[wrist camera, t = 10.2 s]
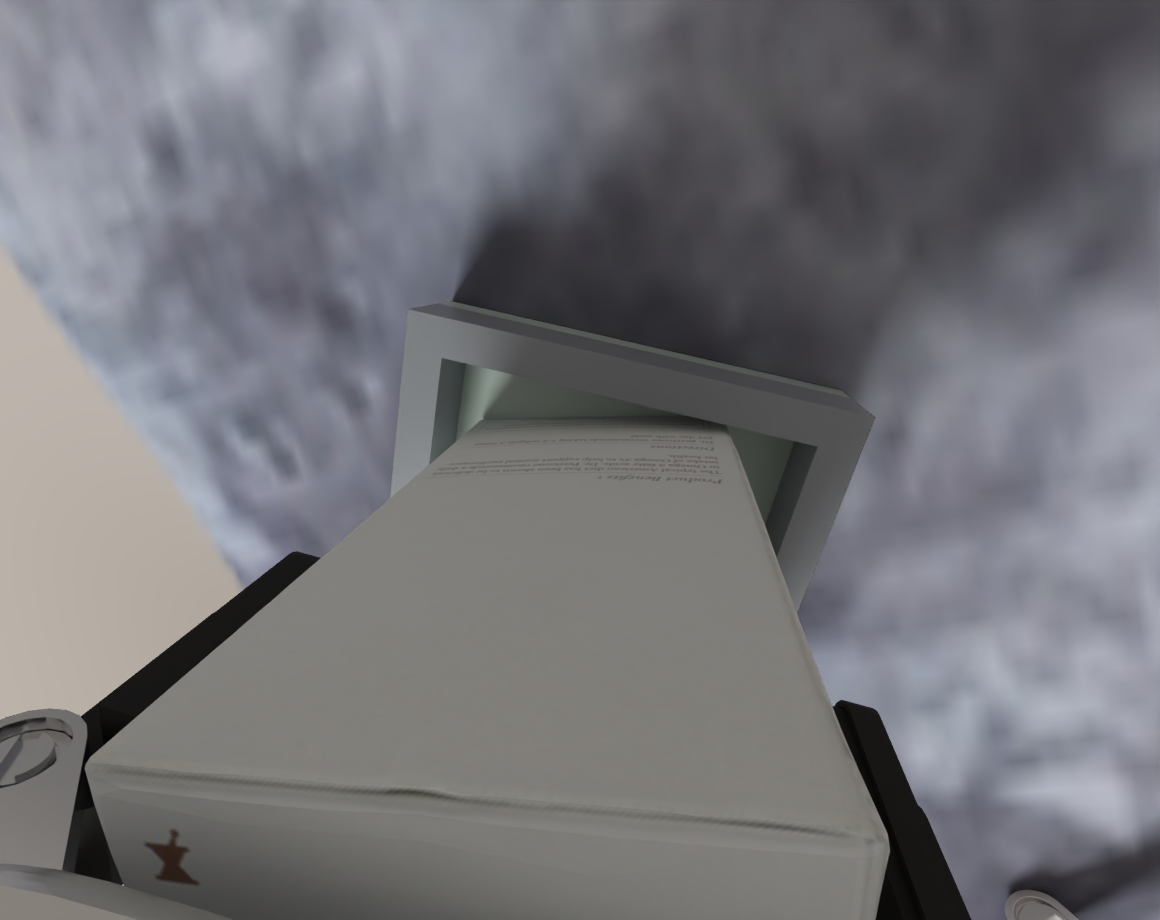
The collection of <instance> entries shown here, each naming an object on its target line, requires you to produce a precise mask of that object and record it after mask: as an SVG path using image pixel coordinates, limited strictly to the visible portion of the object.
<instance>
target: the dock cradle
mask: <svg viewBox="0 0 1160 920" xmlns="http://www.w3.org/2000/svg"><path fill="white" fill-rule="evenodd" d="M655 416H690V417H694V418H698V419H702V420H707V421H711V422H715V423H719V424H724V425H726V426H727V428H728V430H729V433H730V436H731V438H732V441H733V444H734V446H735V448H736V450H737V452H738V454H739V457H740V460H741V462H742V465H743V468H744V470H745V473H746V475H747V478H748V481H749V484H750V486H751V489H752V492H753V494H754V497H755V500H756V503H757V505H758V508H759V511H760V514H761V516H762V519H763V521H764V524H765V526H766V529H767V532H768V535H769V538H770V541H771V544H772V547H773V549H774V552H775V555H776V558H777V560H778V563H779V566H780V568H781V571H782V574H783V577H784V579H785V582H786V585H787V588H788V590H789V593H790V596H791V598H792V601H793V604H794V607H795V609H796V612H798V609H799V607H800V604H801V602H802V599H803V597H804V594H805V592H806V589H807V587H808V584H809V582H810V579H811V577H812V574H813V572H814V569H815V567H816V564H817V562H818V559H819V557H820V554H821V552H822V549H823V547H824V544H825V542H826V539H827V537H828V534H829V532H830V529H831V527H832V524H833V522H834V519H835V517H836V514H837V512H838V509H839V507H840V504H841V502H842V499H843V497H844V494H845V492H846V489H847V487H848V484H849V482H850V479H851V477H852V474H853V472H854V469H855V467H856V464H857V462H858V459H859V457H860V454H861V452H862V449H863V447H864V444H865V442H866V439H867V437H868V435H869V432H870V430H871V427H872V425H873V422H874V420H875V417H874V416H873V415H872V414H871V413H869V412H868V411H867V410H865V409H864V408H863V407H862V406H860V405H859V404H858V403H856V402H855V401H854V400H853V399H851V398H850V397H849V396H848V395H846V394H845V393H844V392H842V391H841V390H838V389H834V388H829V387H825V386H820V385H816V384H812V383H807V382H803V381H799V380H794V379H790V378H785V377H781V376H777V375H772V374H768V373H764V372H759V371H755V370H750V369H746V368H742V367H737V366H733V365H729V364H724V363H720V362H715V361H711V360H707V359H702V358H698V357H694V356H689V355H685V354H680V353H676V352H672V351H667V350H663V349H659V348H654V347H650V346H645V345H641V344H637V343H632V342H628V341H624V340H619V339H615V338H610V337H606V336H602V335H597V334H593V333H589V332H584V331H580V330H575V329H571V328H567V327H562V326H558V325H553V324H549V323H545V322H540V321H536V320H532V319H527V318H523V317H518V316H514V315H510V314H505V313H501V312H497V311H492V310H488V309H483V308H479V307H475V306H470V305H466V304H462V303H457V302H453V301H450V302H444V303H439V304H433V305H428V306H423V307H417V308H412V309H408V313H407V324H406V335H405V346H404V356H403V367H402V378H401V388H400V399H399V410H398V420H397V431H396V442H395V452H394V463H393V474H392V485H391V495H390V498H391V497H392V496H393V495H395V494H396V493H397V492H398V491H399V490H401V489H402V488H403V487H404V486H405V485H406V484H408V483H409V482H410V481H411V480H412V479H413V478H415V477H416V476H417V475H418V474H419V473H420V472H422V471H423V470H424V469H425V468H426V467H427V466H429V465H430V464H431V463H432V462H433V461H434V460H436V459H437V458H438V457H439V456H440V455H441V454H442V453H444V452H445V451H446V450H447V449H448V448H449V447H450V446H451V445H453V444H454V443H455V442H456V441H457V440H459V439H460V438H461V437H462V436H463V435H464V434H466V433H467V432H468V431H469V430H470V429H471V428H473V427H474V426H475V425H476V424H477V423H478V422H479V421H480V420H515V419H560V418H606V417H655Z"/></svg>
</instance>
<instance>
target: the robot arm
mask: <svg viewBox="0 0 1160 920" xmlns="http://www.w3.org/2000/svg"><path fill="white" fill-rule="evenodd" d="M319 559H320V558H319V557H315V556H312V555H308V554H304V553H301V552H292V553H291V554H289V555H288V556H286V557H285V558H284V559H283V560H281V561H280V562H279V563H277V564H276V565H275V566H274V567H272V568H271V569H270V570H268V571H267V572H266V573H265V574H263V575H262V576H261V577H260V578H258V579H257V580H256V581H254V582H253V583H252V584H251V585H249V586H248V587H247V588H246V589H244V590H243V591H242V592H240V593H239V594H238V595H237V596H235V597H234V598H233V599H231V600H230V601H229V602H228V603H226V604H225V605H224V606H223V607H221V608H220V609H219V610H217V611H216V612H215V613H213V614H211V615H210V616H209V617H208V618H206V619H205V620H204V621H202V622H201V623H200V624H199V625H197V626H196V627H195V628H194V629H192V630H191V631H190V632H188V633H187V634H186V635H185V636H183V637H182V638H181V639H180V640H178V641H177V642H176V643H174V644H173V645H172V646H170V647H169V648H168V649H167V650H165V651H164V652H163V653H162V654H160V655H159V656H158V657H156V658H155V659H154V660H153V661H151V662H150V663H149V664H147V665H146V666H145V667H144V668H142V669H141V670H140V671H138V672H137V673H136V674H135V675H134V676H132V677H131V678H130V679H128V680H127V681H126V682H124V683H123V684H122V685H121V686H119V687H118V688H117V689H115V690H114V691H113V692H112V693H110V694H109V695H108V696H107V697H105V698H104V699H103V700H102V701H100V702H99V703H98V704H96V705H95V706H94V707H92V709H90V710H89V711H87V712H86V713H85V714H84V715H82V716H81V717H80V716H79V715H77V714H75V713H72V712H70V711H67V710H60V709H41V710H32V711H27V712H23V713H20V714H16V715H12V716H9V717H6V718H4V719H1V720H0V920H233V919H230V918H227V917H224V916H221V915H218V914H215V913H212V912H209V911H205V910H202V909H199V908H195V907H192V906H189V905H185V904H182V903H179V902H175V901H172V900H169V899H165V898H162V897H159V896H155V895H152V894H149V893H145V892H142V891H139V890H135V889H132V888H129V887H125V886H122V884H123V882H122V880H121V877H120V875H119V872H118V870H117V867H116V865H115V862H114V860H113V857H112V855H111V852H110V849H109V846H108V843H107V840H106V837H105V834H104V831H103V828H102V825H101V822H100V819H99V816H98V813H97V810H96V807H95V804H94V801H93V797H92V794H91V790H90V786H89V783H88V779H87V775H86V772H85V765H86V763H87V762H88V760H89V758H90V757H91V756H92V755H93V754H94V753H96V752H97V751H98V750H99V749H100V748H101V747H103V746H104V745H105V744H106V743H107V742H108V741H109V740H111V739H112V738H113V737H114V736H115V735H116V734H118V733H119V732H120V731H121V730H122V729H123V728H124V727H126V726H127V725H128V724H129V723H130V722H131V721H133V720H134V719H135V718H136V717H137V716H138V715H139V714H141V713H142V712H143V711H144V710H145V709H146V708H148V707H149V706H150V705H151V704H152V703H153V702H154V701H156V700H157V699H158V698H159V697H160V696H161V695H163V694H164V693H165V692H166V691H167V690H168V689H170V688H171V687H172V686H173V685H174V684H175V683H177V682H178V681H179V680H180V679H181V678H182V677H183V676H185V675H186V674H187V673H188V672H189V671H190V670H192V669H193V668H194V667H195V666H196V665H197V664H199V663H200V662H201V661H202V660H203V659H204V658H205V657H207V656H208V655H209V654H210V653H211V652H212V651H214V650H215V649H216V648H217V647H218V646H219V645H221V644H222V643H223V642H224V641H225V640H227V639H228V638H229V637H230V636H231V635H232V634H234V633H235V632H236V631H237V630H238V629H239V628H240V627H242V626H243V625H244V624H245V623H246V622H247V621H248V620H250V619H251V618H252V617H253V616H254V615H255V614H256V613H258V612H259V611H260V610H261V609H262V608H264V607H265V606H266V605H267V604H268V603H270V602H271V601H272V600H273V599H274V598H275V597H277V596H278V595H279V594H280V593H281V592H282V591H283V590H284V589H286V588H287V587H288V586H289V585H290V584H291V583H292V582H294V581H295V580H296V579H297V578H298V577H299V576H301V575H302V574H303V573H304V572H305V571H306V570H308V569H309V568H310V567H311V566H312V565H313V564H315V563H316V562H317V561H318V560H319ZM832 707H833V710H834V712H835V715H836V717H837V720H838V722H839V725H840V727H841V730H842V732H843V735H844V737H845V740H846V742H847V744H848V746H849V749H850V751H851V753H852V756H853V758H854V760H855V763H856V765H857V767H858V770H859V772H860V774H861V776H862V778H863V781H864V783H865V785H866V787H867V789H868V792H869V794H870V796H871V798H872V801H873V803H874V805H875V807H876V809H877V812H878V814H879V816H880V818H881V820H882V823H883V825H884V827H885V829H886V832H887V834H888V840H889V846H890V853H889V857H888V862H887V866H886V871H885V875H884V880H883V884H882V889H881V894H880V899H879V904H878V909H877V914H876V919H875V920H971V918H970V916H969V913H968V911H967V909H966V906H965V904H964V902H963V899H962V897H961V895H960V893H959V890H958V888H957V886H956V883H955V881H954V879H953V876H952V874H951V872H950V869H949V867H948V865H947V862H946V860H945V858H944V856H943V853H942V851H941V849H940V846H939V844H938V842H937V839H936V837H935V835H934V832H933V830H932V828H931V825H930V823H929V821H928V819H927V817H926V815H925V813H924V812H923V810H922V808H920V807H919V806H918V805H917V802H916V800H915V798H914V795H913V793H912V791H911V788H910V786H909V783H908V781H907V779H906V776H905V774H904V772H903V769H902V767H901V765H900V762H899V760H898V758H897V755H896V753H895V751H894V748H893V746H892V743H891V741H890V739H889V736H888V734H887V732H886V729H885V727H884V725H883V722H882V720H881V718H880V715H879V714H878V712H877V711H876V710H875V709H873V708H870V707H866V706H862V705H859V704H855V703H851V702H848V701H844V700H840V701H839V702H837V703H836V705H835V706H832Z"/></svg>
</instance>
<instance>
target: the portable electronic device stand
mask: <svg viewBox="0 0 1160 920" xmlns="http://www.w3.org/2000/svg"><path fill="white" fill-rule="evenodd" d="M1005 915H1006V918H1007V920H1079V919H1078V918H1077V917H1075V916H1074V915H1073V914H1072V913H1071V912H1070V911H1068V910H1067V909H1066V908H1065V907H1064V906H1063V905H1062V904H1060V903H1059V902H1058V901H1057V900H1055V899H1054V898H1052V897H1051V896H1049V895H1047V894H1045V893H1042V892H1039V891H1035V890H1020V891H1016V892H1014V893H1013V894H1011V895H1010V897H1009V898H1008V899H1007V901H1006V904H1005Z"/></svg>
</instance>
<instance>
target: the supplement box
mask: <svg viewBox="0 0 1160 920" xmlns="http://www.w3.org/2000/svg"><path fill="white" fill-rule="evenodd" d="M85 772H86V775H87V779H88V783H89V786H90V790H91V794H92V797H93V801H94V804H95V807H96V810H97V813H98V816H99V819H100V822H101V825H102V828H103V831H104V834H105V837H106V840H107V843H108V846H109V849H110V852H111V855H112V857H113V860H114V862H115V865H116V867H117V870H118V872H119V875H120V877H121V880H122V882H123V884H124V886H125V887H129V888H132V889H135V890H139V891H142V892H145V893H149V894H152V895H155V896H159V897H162V898H165V899H169V900H172V901H175V902H179V903H182V904H185V905H189V906H192V907H195V908H199V909H202V910H205V911H209V912H212V913H215V914H218V915H221V916H224V917H227V918H230V919H233V920H875V919H876V914H877V909H878V904H879V899H880V894H881V889H882V884H883V880H884V875H885V871H886V866H887V862H888V857H889V853H890V846H889V840H888V834H887V832H886V829H885V827H884V825H883V823H882V820H881V818H880V816H879V814H878V812H877V809H876V807H875V805H874V803H873V801H872V798H871V796H870V794H869V792H868V789H867V787H866V785H865V783H864V781H863V778H862V776H861V774H860V772H859V770H858V767H857V765H856V763H855V760H854V758H853V756H852V753H851V751H850V749H849V746H848V744H847V742H846V740H845V737H844V735H843V732H842V730H841V727H840V725H839V722H838V720H837V717H836V715H835V712H834V710H833V707H832V705H831V702H830V700H829V697H828V694H827V692H826V689H825V687H824V684H823V681H822V679H821V676H820V674H819V671H818V668H817V666H816V663H815V661H814V658H813V655H812V653H811V650H810V647H809V645H808V642H807V639H806V637H805V634H804V631H803V629H802V626H801V623H800V621H799V618H798V615H797V612H796V609H795V607H794V604H793V601H792V598H791V596H790V593H789V590H788V588H787V585H786V582H785V579H784V577H783V574H782V571H781V568H780V566H779V563H778V560H777V558H776V555H775V552H774V549H773V547H772V544H771V541H770V538H769V535H768V532H767V529H766V526H765V524H764V521H763V519H762V516H761V514H760V511H759V508H758V505H757V503H756V500H755V497H754V494H753V492H752V489H751V486H750V484H749V481H748V478H747V475H746V473H745V470H744V468H743V465H742V462H741V460H740V457H739V454H738V452H737V450H736V448H735V446H734V444H733V441H732V438H731V436H730V433H729V430H728V428H727V426H726V425H724V424H719V423H715V422H711V421H707V420H702V419H698V418H694V417H690V416H655V417H606V418H560V419H515V420H480V421H479V422H478V423H477V424H476V425H475V426H474V427H473V428H471V429H470V430H469V431H468V432H467V433H466V434H464V435H463V436H462V437H461V438H460V439H459V440H457V441H456V442H455V443H454V444H453V445H451V446H450V447H449V448H448V449H447V450H446V451H445V452H444V453H442V454H441V455H440V456H439V457H438V458H437V459H436V460H434V461H433V462H432V463H431V464H430V465H429V466H427V467H426V468H425V469H424V470H423V471H422V472H420V473H419V474H418V475H417V476H416V477H415V478H413V479H412V480H411V481H410V482H409V483H408V484H406V485H405V486H404V487H403V488H402V489H401V490H399V491H398V492H397V493H396V494H395V495H393V496H392V497H391V498H390V499H389V500H387V501H386V502H385V503H384V504H383V505H382V506H381V507H380V508H378V509H377V510H376V511H375V512H374V513H373V514H371V515H370V516H369V517H368V518H367V519H366V520H364V521H363V522H362V523H361V524H360V525H359V526H358V527H356V528H355V529H354V530H353V531H352V532H351V533H349V534H348V535H347V536H346V537H345V538H344V539H343V540H341V541H340V542H339V543H338V544H337V545H336V546H334V547H333V548H332V549H331V550H330V551H329V552H327V553H326V554H325V555H324V556H323V557H322V558H320V559H319V560H318V561H317V562H316V563H315V564H313V565H312V566H311V567H310V568H309V569H308V570H306V571H305V572H304V573H303V574H302V575H301V576H299V577H298V578H297V579H296V580H295V581H294V582H292V583H291V584H290V585H289V586H288V587H287V588H286V589H284V590H283V591H282V592H281V593H280V594H279V595H278V596H277V597H275V598H274V599H273V600H272V601H271V602H270V603H268V604H267V605H266V606H265V607H264V608H262V609H261V610H260V611H259V612H258V613H256V614H255V615H254V616H253V617H252V618H251V619H250V620H248V621H247V622H246V623H245V624H244V625H243V626H242V627H240V628H239V629H238V630H237V631H236V632H235V633H234V634H232V635H231V636H230V637H229V638H228V639H227V640H225V641H224V642H223V643H222V644H221V645H219V646H218V647H217V648H216V649H215V650H214V651H212V652H211V653H210V654H209V655H208V656H207V657H205V658H204V659H203V660H202V661H201V662H200V663H199V664H197V665H196V666H195V667H194V668H193V669H192V670H190V671H189V672H188V673H187V674H186V675H185V676H183V677H182V678H181V679H180V680H179V681H178V682H177V683H175V684H174V685H173V686H172V687H171V688H170V689H168V690H167V691H166V692H165V693H164V694H163V695H161V696H160V697H159V698H158V699H157V700H156V701H154V702H153V703H152V704H151V705H150V706H149V707H148V708H146V709H145V710H144V711H143V712H142V713H141V714H139V715H138V716H137V717H136V718H135V719H134V720H133V721H131V722H130V723H129V724H128V725H127V726H126V727H124V728H123V729H122V730H121V731H120V732H119V733H118V734H116V735H115V736H114V737H113V738H112V739H111V740H109V741H108V742H107V743H106V744H105V745H104V746H103V747H101V748H100V749H99V750H98V751H97V752H96V753H94V754H93V755H92V756H91V757H90V758H89V760H88V762H87V763H86V765H85Z"/></svg>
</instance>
